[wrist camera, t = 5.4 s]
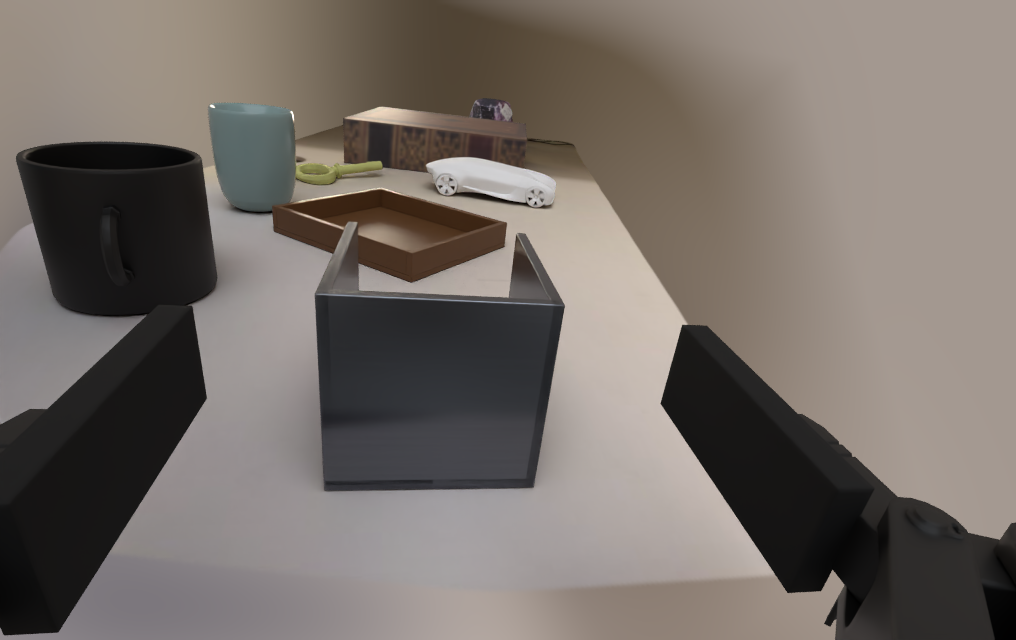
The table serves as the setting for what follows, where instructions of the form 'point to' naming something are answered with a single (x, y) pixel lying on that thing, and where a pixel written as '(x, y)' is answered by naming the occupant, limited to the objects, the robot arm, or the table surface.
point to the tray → (392, 230)
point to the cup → (253, 154)
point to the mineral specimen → (492, 110)
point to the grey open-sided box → (434, 379)
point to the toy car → (492, 180)
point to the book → (429, 138)
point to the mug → (120, 224)
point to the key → (332, 171)
